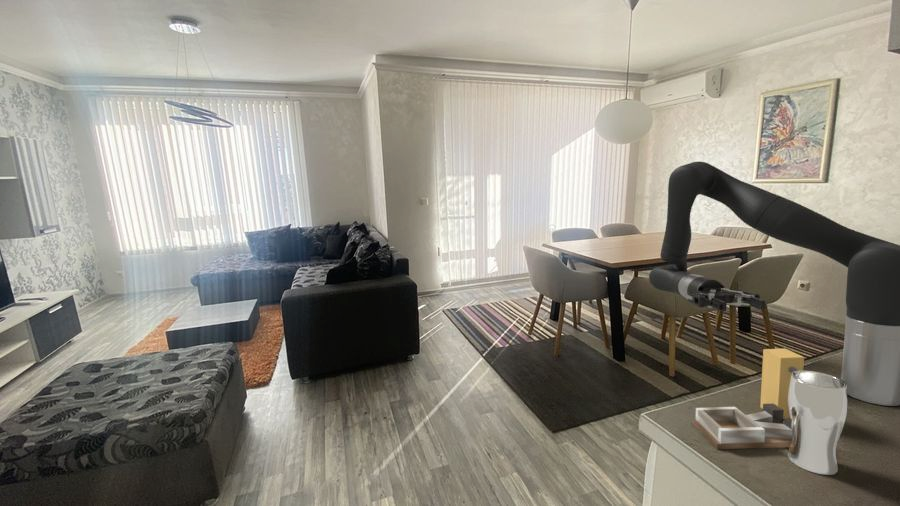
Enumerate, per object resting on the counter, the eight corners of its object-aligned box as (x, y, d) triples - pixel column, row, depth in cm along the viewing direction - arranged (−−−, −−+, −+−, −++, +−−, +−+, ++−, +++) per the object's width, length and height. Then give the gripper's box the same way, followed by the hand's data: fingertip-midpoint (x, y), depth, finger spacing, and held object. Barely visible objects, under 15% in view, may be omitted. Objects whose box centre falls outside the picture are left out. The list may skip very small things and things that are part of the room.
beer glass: (783, 444, 68) (788, 366, 66) (838, 459, 64) (845, 376, 62) (785, 466, 63) (790, 382, 61) (845, 484, 59) (852, 393, 57)
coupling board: (773, 421, 75) (774, 402, 74) (809, 446, 67) (810, 426, 67) (691, 423, 76) (692, 405, 75) (716, 449, 68) (717, 428, 67)
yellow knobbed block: (779, 405, 80) (782, 347, 79) (802, 420, 75) (806, 358, 73) (758, 405, 81) (761, 348, 79) (779, 420, 75) (783, 359, 73)
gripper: (674, 277, 102) (713, 292, 86) (728, 275, 101) (777, 289, 85) (673, 304, 103) (711, 323, 87) (726, 302, 102) (775, 320, 86)
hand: (744, 306), depth 86 cm, fingers open, 8 cm apart
